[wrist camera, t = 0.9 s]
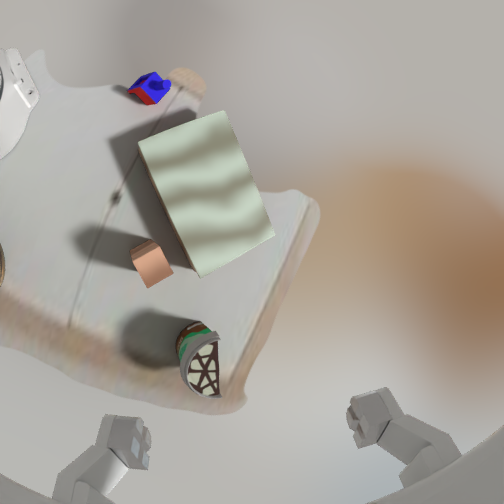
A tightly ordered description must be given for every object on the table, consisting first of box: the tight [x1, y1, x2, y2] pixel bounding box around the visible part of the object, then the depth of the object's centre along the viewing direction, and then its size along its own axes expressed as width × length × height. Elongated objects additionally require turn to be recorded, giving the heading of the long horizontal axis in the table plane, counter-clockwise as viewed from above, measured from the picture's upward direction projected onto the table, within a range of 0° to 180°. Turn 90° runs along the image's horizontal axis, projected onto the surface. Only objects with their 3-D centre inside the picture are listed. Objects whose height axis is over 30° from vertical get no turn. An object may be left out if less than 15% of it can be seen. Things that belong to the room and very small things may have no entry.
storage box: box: [138, 110, 275, 278], centre depth 43 cm, size 23×15×5 cm, turn 24°
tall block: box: [130, 239, 173, 288], centre depth 38 cm, size 4×4×10 cm
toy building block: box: [127, 72, 171, 105], centre depth 36 cm, size 4×4×8 cm
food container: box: [176, 321, 222, 399], centre depth 44 cm, size 12×6×10 cm, turn 178°
